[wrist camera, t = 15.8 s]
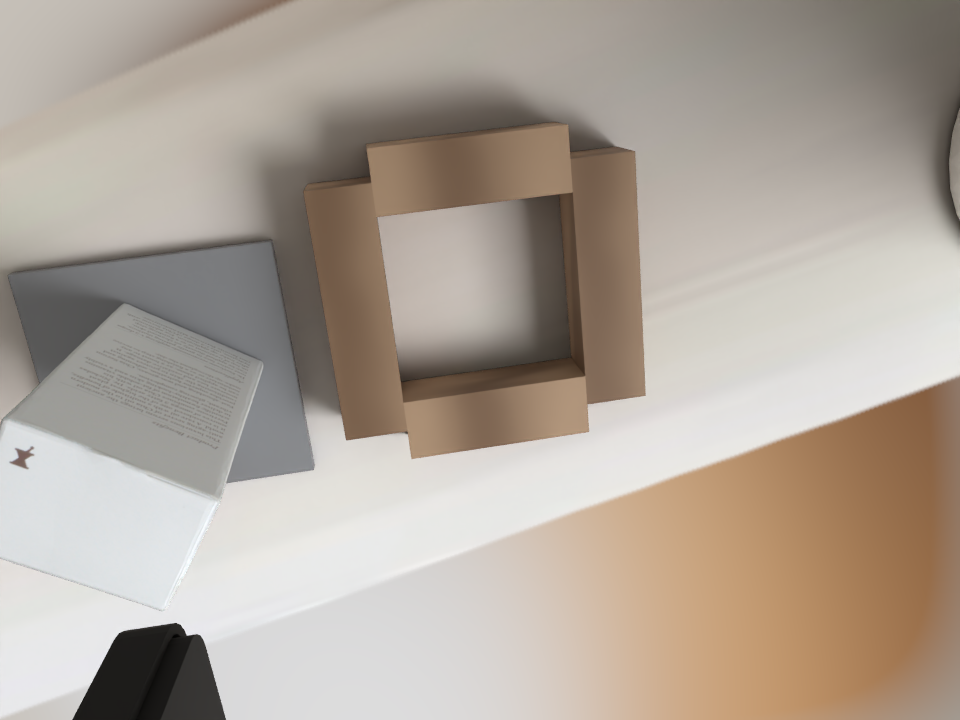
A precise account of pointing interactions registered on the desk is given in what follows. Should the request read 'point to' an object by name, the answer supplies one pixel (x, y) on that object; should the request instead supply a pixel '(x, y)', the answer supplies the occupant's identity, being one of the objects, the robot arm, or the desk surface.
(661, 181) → the desk surface
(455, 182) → the box
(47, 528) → the skincare box
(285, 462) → the grey rubber mat
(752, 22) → the desk surface
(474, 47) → the desk surface
